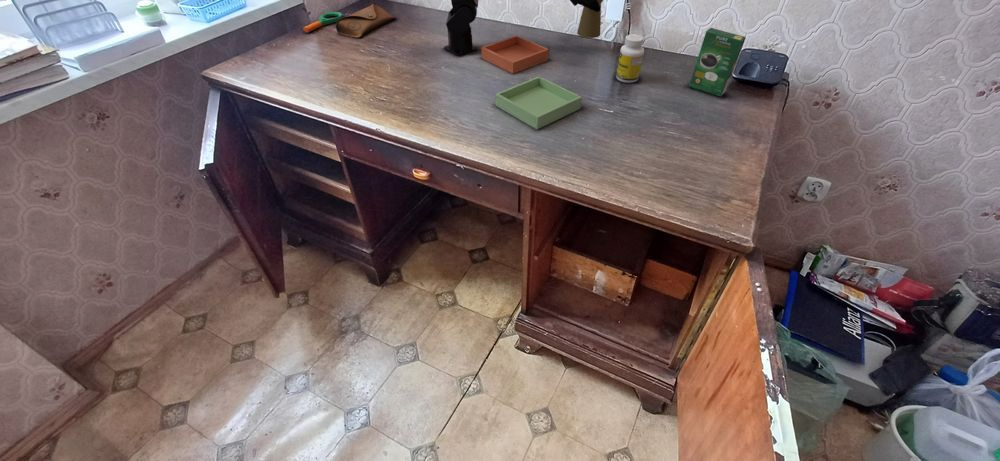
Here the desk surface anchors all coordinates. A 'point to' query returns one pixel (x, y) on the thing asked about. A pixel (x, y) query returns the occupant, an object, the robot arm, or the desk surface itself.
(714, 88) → the coffee box
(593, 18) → the olive pepper mill
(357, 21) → the sunglasses case
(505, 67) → the terracotta tray
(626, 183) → the desk surface
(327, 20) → the magnifying glass
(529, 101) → the sage tray
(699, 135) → the desk surface
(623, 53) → the supplement bottle
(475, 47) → the robot arm
